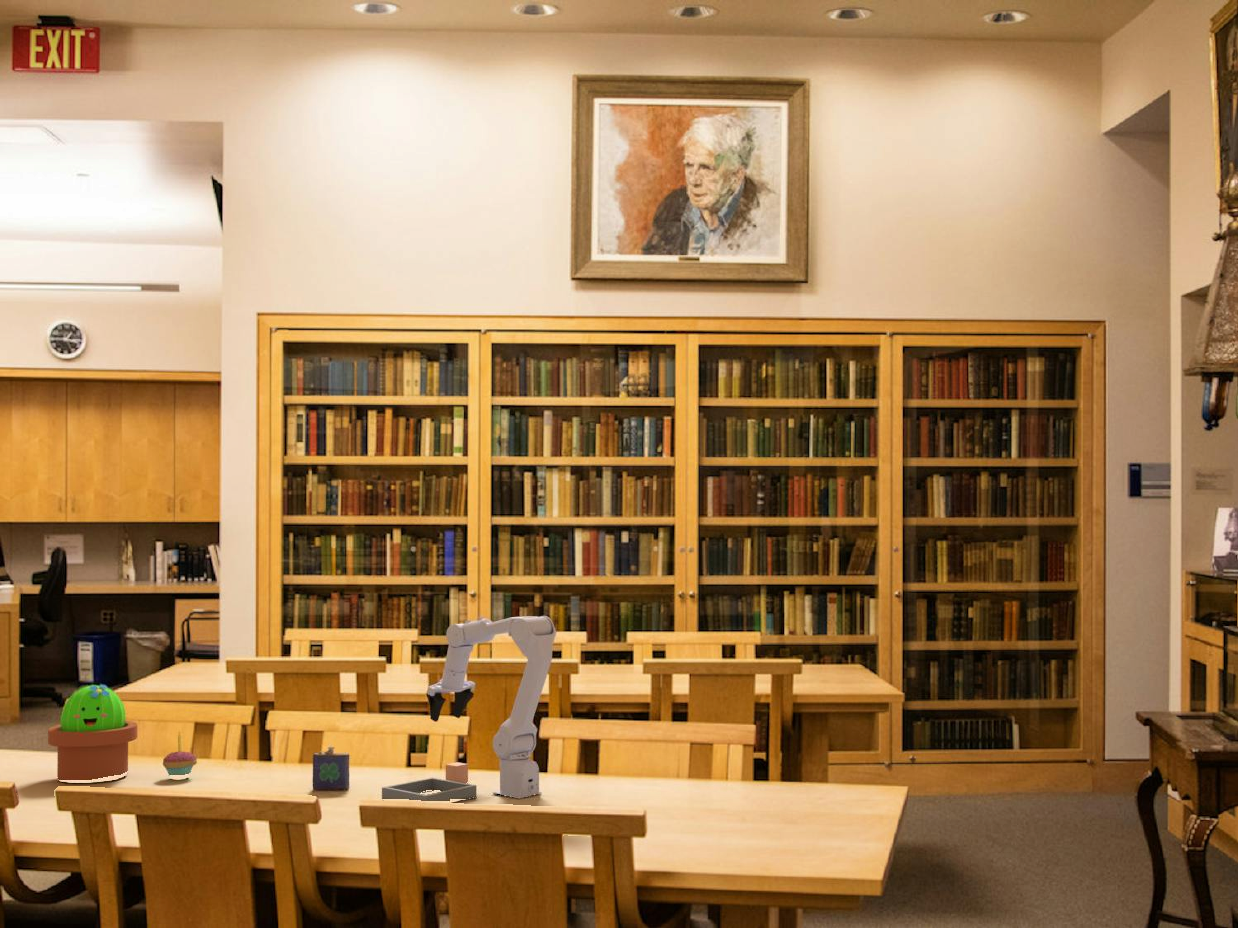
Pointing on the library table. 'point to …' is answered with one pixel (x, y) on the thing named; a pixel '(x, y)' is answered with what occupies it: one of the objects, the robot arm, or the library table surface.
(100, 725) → the potted cactus
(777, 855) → the library table surface
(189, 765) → the cupcake
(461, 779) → the block
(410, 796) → the bin
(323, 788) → the flask
